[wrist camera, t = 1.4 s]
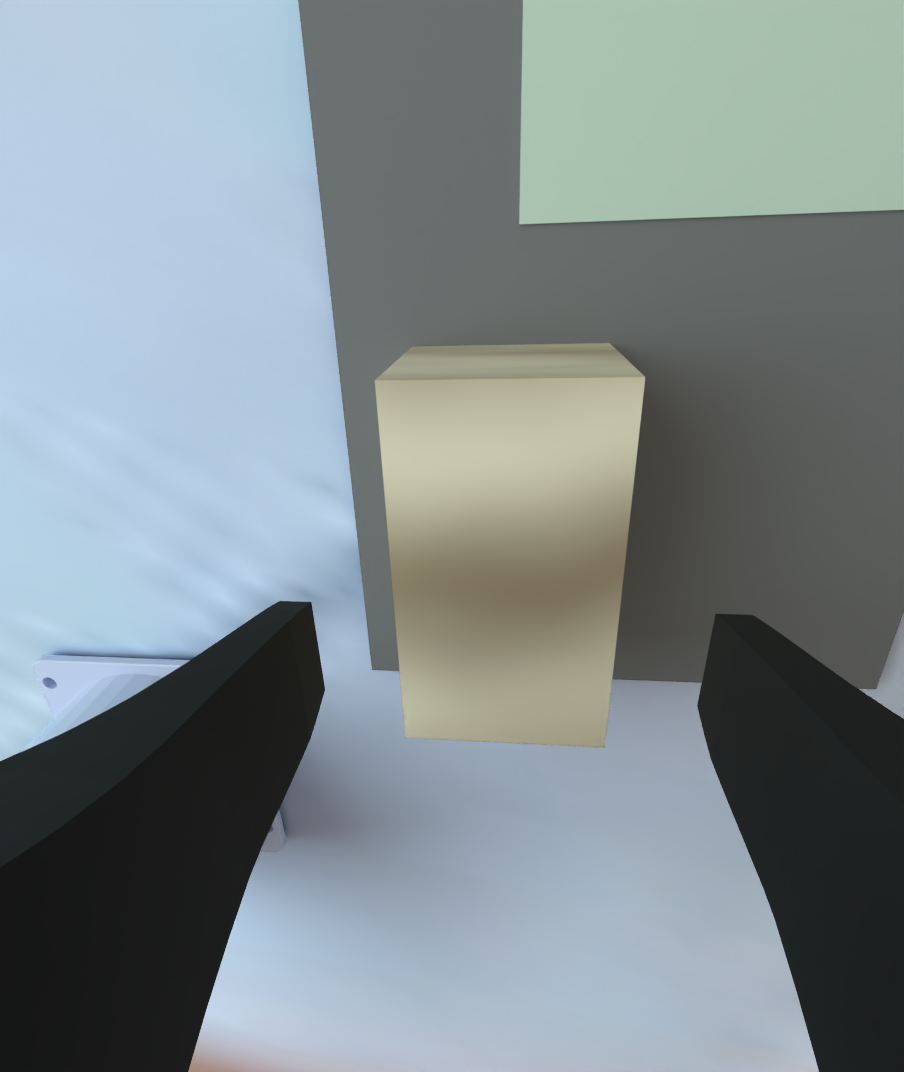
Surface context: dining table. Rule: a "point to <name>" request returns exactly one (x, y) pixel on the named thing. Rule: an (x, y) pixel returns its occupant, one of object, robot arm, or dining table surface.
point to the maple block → (508, 535)
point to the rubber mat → (646, 278)
